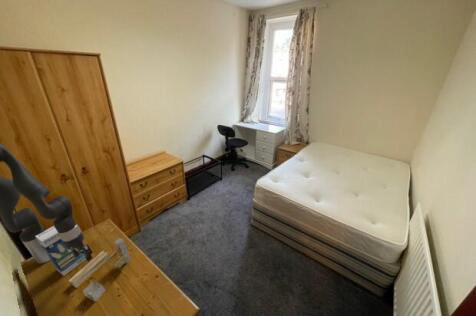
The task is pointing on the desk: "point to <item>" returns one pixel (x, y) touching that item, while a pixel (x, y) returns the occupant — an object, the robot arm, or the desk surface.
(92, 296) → the bracket stand
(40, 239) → the string lights box
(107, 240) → the desk surface
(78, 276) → the pine rail
